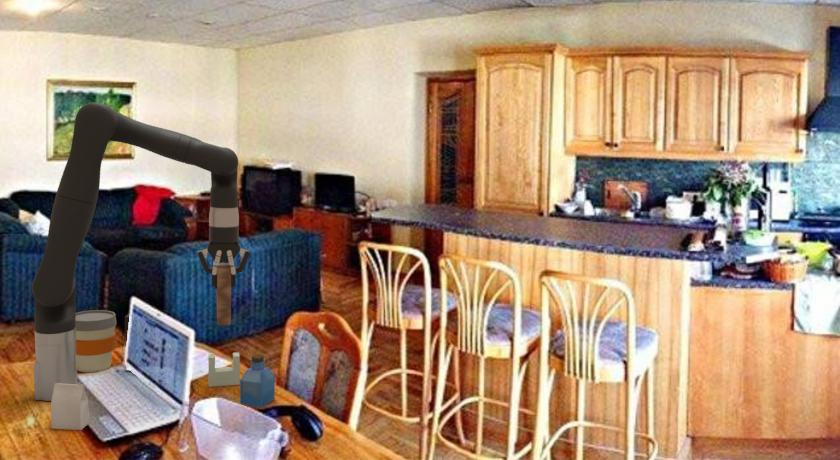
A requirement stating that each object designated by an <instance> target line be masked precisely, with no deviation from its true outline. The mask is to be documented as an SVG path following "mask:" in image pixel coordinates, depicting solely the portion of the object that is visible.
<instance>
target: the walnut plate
mask: <svg viewBox="0 0 840 460" xmlns="http://www.w3.org/2000/svg"><path fill="white" fill-rule="evenodd" d="M216 321H217V322H216V324H217V326H231V324H232V288H231V267H230V265H229V262H219V266H218V267H217V289H216Z"/></svg>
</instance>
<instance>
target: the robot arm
mask: <svg viewBox="0 0 840 460" xmlns="http://www.w3.org/2000/svg"><path fill="white" fill-rule="evenodd" d="M109 141H110V142H117V143H123V144H127V145H131V146H134V147H137V148H140V149H144V150H146V151H148V152H151V153H153V154H156V155H159V156H161V157H164V158H167V159H169V160H170V159H171V160H173V161H176V162H179V163H183V164H186V165H191V166H195V167H198V168H200V169H202V170H204V171H208V172H210V178H211V180H210V181H211V183H210V184H211V185H210V186H211V188H210V194H209V201H210V203H209V207H210V209H209V217H208V223H209V224H208V227H209V228H208V232H209V233H208V239H209V240H208V246H207V248H204V249H203V250H201V249H200V250H198V251H197V256H198V259H199V260H200V263H201V265H202V268H203V271H204V272H205V273H206V274H210V275H211V286H212V287H214V289H215V290H217V267H218V266H219V263H229V265H230V267H231V289H233V288H234V287H235V286H236V284H237V283H236V275H237V274H238V273H242V272H244V269H245V266H246V264H247V261H248V259H249V256H250V250H248V249H243V248H241V246H240V244H239V240H240V239H239V238H240V237H239V236H240V235H239V234H240V233H239V232H240V231H239V229H240V228H239V226H240V225H239V222H240V220H239V219H240V215H239V208H238V207H239V193H238V192H239V191H238V186H237V184H238V167H239V158H238V155H237V153H236V152H235V151H234V150H233V149H232V148H228V147H223V146H218V145H215V144H212V143H208V142H204V141H202V140H200V139H198V138H196V137H193V136H190V135H187V134H183V133H181V132H178V131H174V130H170V129H166V128H162V127H159V126H155V125H154V126H153V125H151V124H147V123H144V122H141V121H139V120H136V119H133V118H131V117H130V116H129V117H128V116H126V115H125V114H123V113H120V112H118V111H117V110H114V108H113V107H111V106H109V105H107V104H105V103H102V102H97V101H92V102H88V103H85V104H83V105H82V106H81V107H80V108H79V109H78V111H77V112H76V114H75V118H74V124H73V135H72V140H71V146H70V151H69V156H68V159H67V161H66V163H65V166H64V168H63V172H62V175H61V178H60V181H59V185H58V187H57V191H56V195H55V198H54V200H53V205H52V208H51V209H52V210H51V215H50V220H49V226H48V231H47V242H46V247H45V250H44V254H43V257H42V260H41V262H40V264H39V267H38V269H37V272H36V274H35V276H34V279H33V280H32V283H31V292H32V296H33V297H34V321H33V324H34V325H33V327H34V328H33V329H34V345H35V347H34V349H35V353H34V354H35V360H34V363H33V376H34V377H33V380H34V384H33V385H34V400H35V401H39V400H40V401H46V402H51V400H52V396H53V390H54V384H55V383H61V384H78V370H77V360H76V328H75V327H76V326H75V319H76V313H77V309H76V307H77V305H76V304H77V303H76V278H75V272H76V266H77V261H78V256H79V254H80V251H81V248H82V245H83V244H84V241H85V239H86V236H87V234H88V231H89V229H90V226H91V224H92V221H93V218H94V215H95V210H96V208H97V207H96V206H97V202H98V198H99V191H100V183H101V169H102V168H101V167H102V163H103V158H104V155H105V152H106V150H107V146H108V144H109ZM239 253H240V257H241V259H240V262H239V264H238V267H236V265H235V261H234V260H235V259H236V257H237V256H238V255H239ZM208 254H209V255H210V257H212V260H213V263H212V267H209V264H208V260H207V259H206V258H207V257H208Z"/></svg>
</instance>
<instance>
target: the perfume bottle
mask: <svg viewBox="0 0 840 460" xmlns="http://www.w3.org/2000/svg"><path fill="white" fill-rule="evenodd" d="M265 364H266V360H265V355H264V354H260V353H259V354H257V353H256V354H253V355H251V360H250V366H251V367H250V368H248V369H245V372H244V374H243V375H242V377H241V378H240V385H239V386H240V388H239V389H240V391H239V394H240V395H239V398H240V399H239V400H240V402H239V403H241V405H247V406H251V407H258V408H263V407H265V406H266V405H268V404H269V403H270V401H271V402H272V401H274V400H275V391H276V390H275V384H276V383H275V380H276V379H275V378H276V377H275V374H274V373H273V372H272V370H271V369H270V368H269V367H267V366H265ZM273 399H274V400H273Z"/></svg>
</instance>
